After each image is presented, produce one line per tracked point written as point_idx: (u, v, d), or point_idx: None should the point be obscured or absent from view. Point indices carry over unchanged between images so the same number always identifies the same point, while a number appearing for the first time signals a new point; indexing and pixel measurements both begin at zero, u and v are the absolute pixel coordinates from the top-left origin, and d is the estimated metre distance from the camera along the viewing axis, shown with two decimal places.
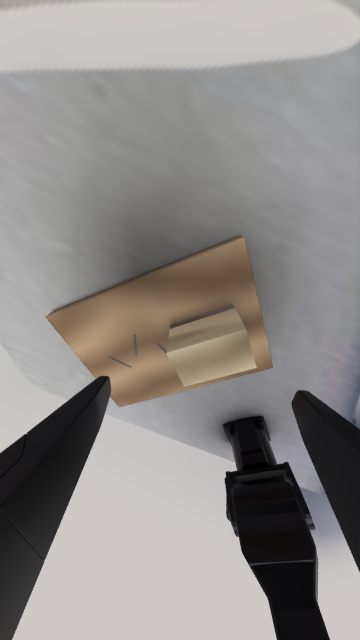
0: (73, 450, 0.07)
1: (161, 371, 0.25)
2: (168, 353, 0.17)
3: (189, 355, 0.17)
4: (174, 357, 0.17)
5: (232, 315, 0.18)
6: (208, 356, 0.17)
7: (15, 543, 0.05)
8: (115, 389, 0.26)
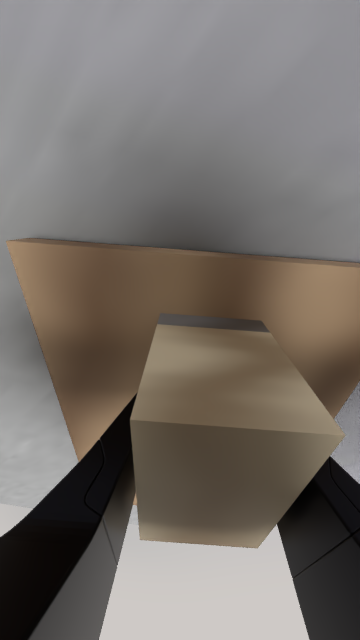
0: None
1: None
2: (142, 538, 0.07)
3: (167, 522, 0.06)
4: (160, 536, 0.07)
5: None
6: (191, 503, 0.06)
7: (106, 550, 0.05)
8: None
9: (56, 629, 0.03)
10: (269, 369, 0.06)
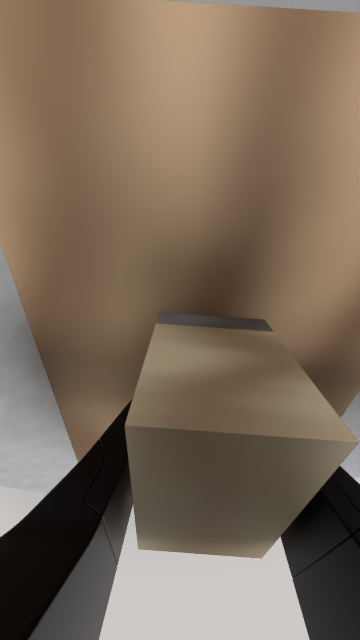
0: None
1: None
2: (141, 547, 0.07)
3: (167, 532, 0.06)
4: (159, 546, 0.07)
5: None
6: (192, 512, 0.05)
7: (106, 549, 0.05)
8: None
9: (55, 630, 0.03)
10: (274, 370, 0.05)
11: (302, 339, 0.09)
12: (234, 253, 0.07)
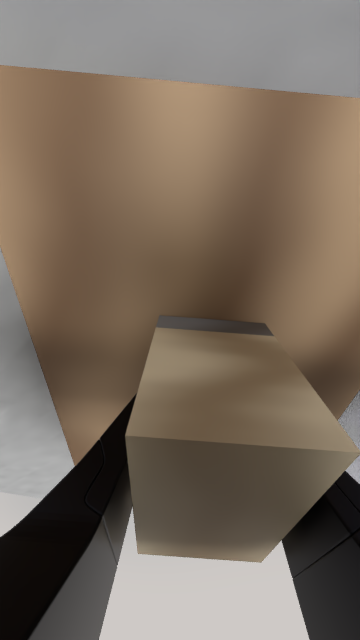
0: None
1: None
2: (140, 551, 0.07)
3: (166, 537, 0.06)
4: (158, 550, 0.07)
5: None
6: (192, 519, 0.05)
7: (106, 550, 0.05)
8: None
9: (55, 630, 0.03)
10: (275, 376, 0.05)
11: None
12: (228, 289, 0.07)
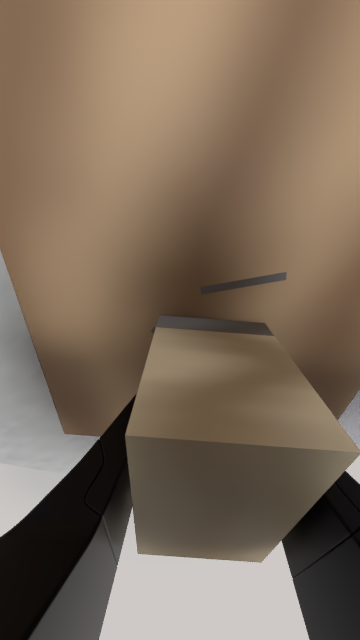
0: None
1: (297, 328, 0.08)
2: (140, 551, 0.07)
3: (167, 537, 0.06)
4: (158, 550, 0.07)
5: None
6: (192, 519, 0.05)
7: (106, 550, 0.05)
8: None
9: (55, 630, 0.03)
10: (275, 376, 0.05)
11: (359, 208, 0.06)
12: (278, 27, 0.04)
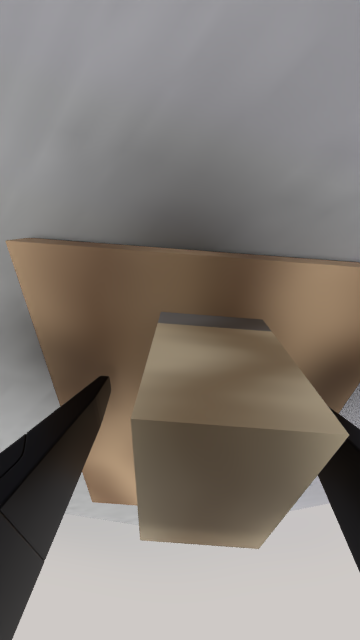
0: (73, 450, 0.07)
1: None
2: (143, 538, 0.07)
3: (168, 522, 0.06)
4: (160, 537, 0.07)
5: None
6: (192, 503, 0.06)
7: (15, 543, 0.05)
8: None
9: None
10: (271, 368, 0.05)
11: None
12: None
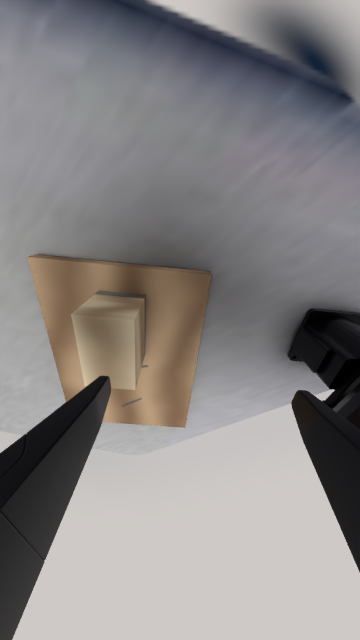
0: (73, 450, 0.07)
1: (157, 380, 0.23)
2: (85, 384, 0.17)
3: (93, 371, 0.16)
4: None
5: None
6: (99, 357, 0.15)
7: (15, 543, 0.05)
8: (161, 419, 0.27)
9: None
10: (128, 308, 0.15)
11: (163, 350, 0.21)
12: None
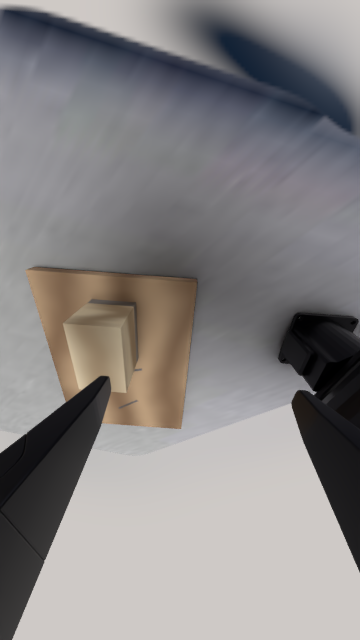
0: (73, 450, 0.07)
1: (152, 383, 0.24)
2: (79, 388, 0.18)
3: (86, 375, 0.17)
4: None
5: None
6: (91, 362, 0.16)
7: (15, 543, 0.05)
8: (157, 420, 0.27)
9: None
10: (117, 316, 0.16)
11: (155, 354, 0.22)
12: None
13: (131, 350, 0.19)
